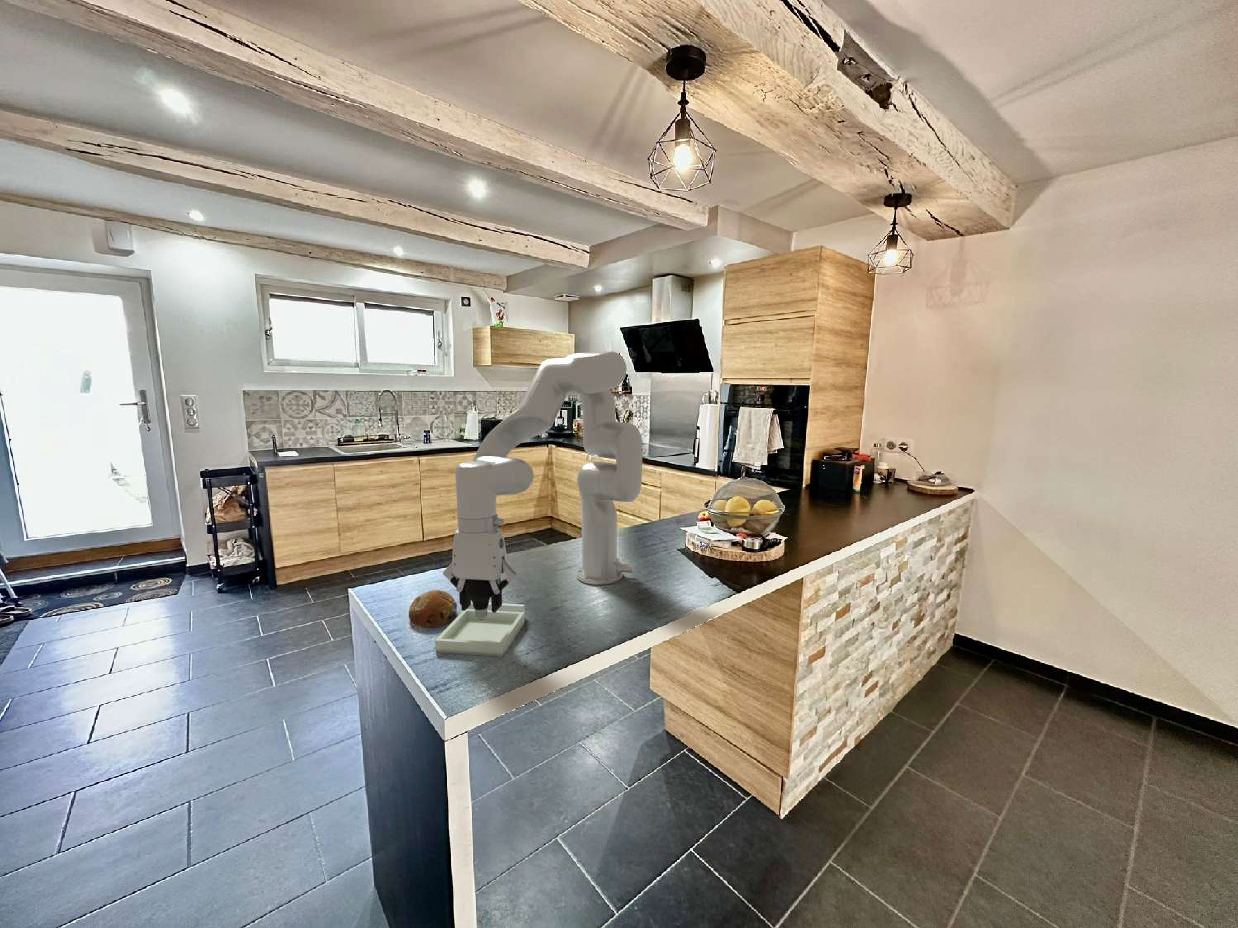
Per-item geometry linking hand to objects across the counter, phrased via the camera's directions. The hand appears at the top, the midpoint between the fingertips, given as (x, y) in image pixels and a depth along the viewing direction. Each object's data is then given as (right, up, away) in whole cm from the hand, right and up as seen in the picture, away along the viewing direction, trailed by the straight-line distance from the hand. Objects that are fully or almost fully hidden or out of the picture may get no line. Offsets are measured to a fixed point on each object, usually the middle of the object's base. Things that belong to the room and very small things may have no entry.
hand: (481, 607), depth 99 cm
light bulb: (0, -3, 0) cm, 3 cm away
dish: (0, -6, +1) cm, 6 cm away
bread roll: (-13, -5, +9) cm, 17 cm away
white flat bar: (0, -5, +10) cm, 11 cm away
